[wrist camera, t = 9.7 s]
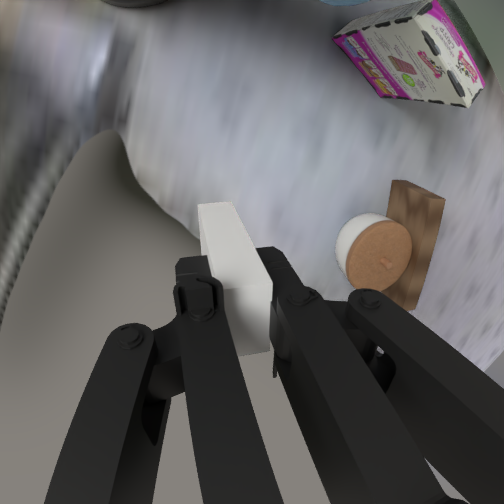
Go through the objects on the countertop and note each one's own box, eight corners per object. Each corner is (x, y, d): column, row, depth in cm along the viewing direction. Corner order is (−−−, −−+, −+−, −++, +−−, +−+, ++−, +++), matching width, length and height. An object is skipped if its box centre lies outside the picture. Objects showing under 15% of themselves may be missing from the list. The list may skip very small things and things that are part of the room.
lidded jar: (356, 188, 44) (394, 211, 36) (393, 227, 49) (430, 253, 41) (309, 246, 46) (339, 279, 38) (352, 277, 51) (382, 310, 43)
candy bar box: (399, 77, 38) (488, 85, 23) (379, 98, 39) (469, 112, 24) (351, 17, 32) (437, -5, 18) (329, 37, 33) (413, 18, 19)
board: (392, 179, 45) (431, 199, 37) (406, 180, 46) (445, 199, 38) (372, 282, 53) (401, 312, 45) (385, 280, 54) (415, 309, 46)
